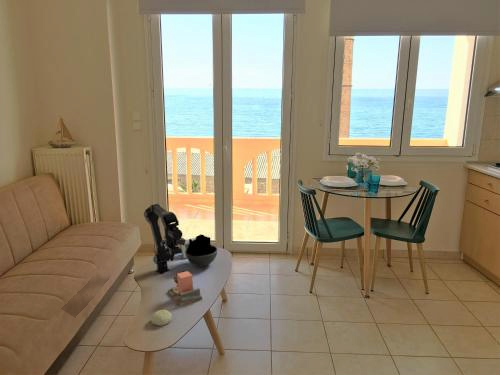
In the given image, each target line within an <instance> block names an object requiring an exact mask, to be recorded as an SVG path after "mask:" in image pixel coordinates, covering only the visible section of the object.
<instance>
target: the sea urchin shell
mask: <svg viewBox="0 0 500 375" xmlns="http://www.w3.org/2000/svg"><path fill="white" fill-rule="evenodd" d="M172 318H173V316H172V313H171V312H170V311H169V310H167V309H160V310H157V311H155V312H154V313H153V314H152V316H151V323H152V324H153V325H156V326H165V325H166V324H168V323H170V322H171V321H172Z"/></svg>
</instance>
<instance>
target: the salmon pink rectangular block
mask: <svg viewBox="0 0 500 375" xmlns="http://www.w3.org/2000/svg"><path fill="white" fill-rule="evenodd" d="M176 277H177V279H176V281H177V287H178V293H179V294H181V293H184V292H188V291H191V290H193V288H194V285H193V284H194V281H193V274H192V273H190V272H189V271H188V270H186V271H183V272H178V273H177V274H176Z"/></svg>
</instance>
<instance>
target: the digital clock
mask: <svg viewBox="0 0 500 375" xmlns="http://www.w3.org/2000/svg"><path fill="white" fill-rule="evenodd" d="M189 239H192V241H193V240H195V239H196V236H195V237H192V238H188V239H185V240H186V241H185V245H179V244H178V247H180V248H181V249H182V253H181V257H182V259H187V257H186V255H185V250H186V249H187V248H188V246H189Z"/></svg>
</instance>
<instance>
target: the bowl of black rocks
mask: <svg viewBox="0 0 500 375" xmlns="http://www.w3.org/2000/svg"><path fill="white" fill-rule="evenodd" d="M195 237H196V239H195V240H193V241H192V239H191V238H188V239H189V246H188V248H187V249H186V250H185V255H186V257H187V258H186V259H187V261H188V262H189V263H190V264H192V265H193V266H195V267H200V268H201V267H207V266H208V265H210V264H212V263H213V262H214V261H215V259H216V257H217V255H218V247H217V246H215V245H213V244H211V237H210V236H206V235H204V234H199V235H197V236H195Z"/></svg>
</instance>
